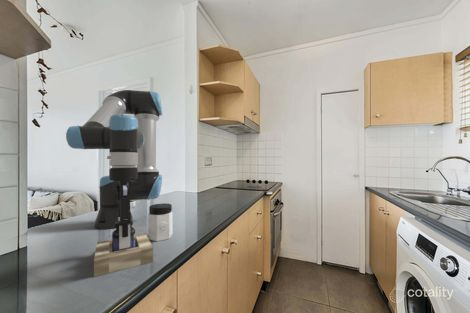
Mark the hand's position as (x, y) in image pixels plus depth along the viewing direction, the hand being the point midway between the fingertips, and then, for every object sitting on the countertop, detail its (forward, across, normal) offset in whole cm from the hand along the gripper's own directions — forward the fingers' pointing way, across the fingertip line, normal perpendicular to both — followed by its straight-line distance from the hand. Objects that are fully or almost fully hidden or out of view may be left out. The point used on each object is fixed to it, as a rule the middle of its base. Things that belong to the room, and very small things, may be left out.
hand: (123, 242), depth 61 cm
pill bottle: (+5, 0, 0) cm, 5 cm away
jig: (+5, -1, 0) cm, 5 cm away
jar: (+5, -12, +13) cm, 18 cm away
